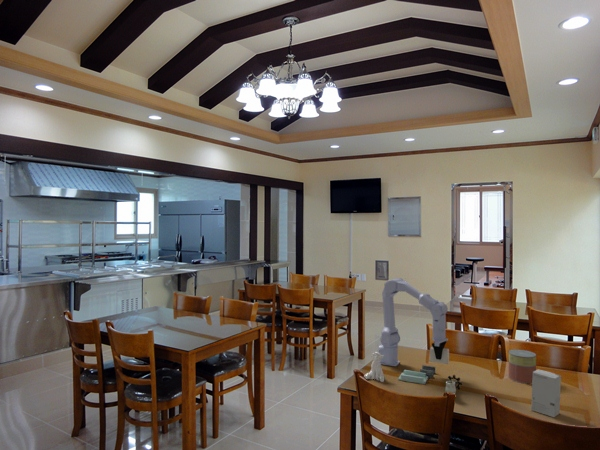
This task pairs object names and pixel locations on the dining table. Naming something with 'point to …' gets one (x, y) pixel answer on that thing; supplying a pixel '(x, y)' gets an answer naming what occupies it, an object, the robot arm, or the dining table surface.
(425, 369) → the channel
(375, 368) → the sitting furry creature
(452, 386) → the valve
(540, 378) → the skincare box
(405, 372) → the cradle
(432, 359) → the white block
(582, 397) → the dining table surface
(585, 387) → the dining table surface
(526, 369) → the canned food
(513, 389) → the dining table surface
